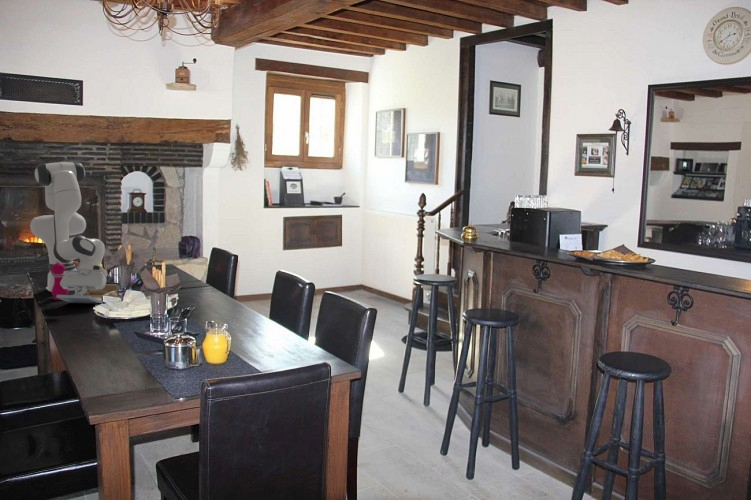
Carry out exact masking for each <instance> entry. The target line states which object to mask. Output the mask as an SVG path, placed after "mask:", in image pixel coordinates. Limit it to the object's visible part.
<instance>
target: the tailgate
mask: <svg viewBox="0 0 751 500" xmlns="http://www.w3.org/2000/svg"><path fill="white" fill-rule="evenodd" d="M56 297H57V298H59V299H62V301H65V302H67V303H69V304H95V305H96V303H102V304H104V303H103V301H100V300H98V299H96V298H94V297H91V296H84V295H74V294H67V295H57V296H56Z"/></svg>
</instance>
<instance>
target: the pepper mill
mask: <svg viewBox="0 0 751 500" xmlns="http://www.w3.org/2000/svg"><path fill="white" fill-rule="evenodd" d="M51 271H52V272H53V273H54V274H53V277H54V286H53V288H52V292H51V295H52V296H53V298H52V299H53V300H54V301H59V300H60V301H61V300H62V299H59V298H57V297H56V296H57V295H69V291H68V289H63V288H62V287H61V285H60V282H61V280H62V278H63V276H64V271H65V266H64V265H63V264H61V263H60V261H59V260H57V261H56V264H54V265H53V266H52V267H51ZM62 301H63V300H62Z"/></svg>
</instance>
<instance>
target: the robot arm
mask: <svg viewBox="0 0 751 500" xmlns="http://www.w3.org/2000/svg"><path fill="white" fill-rule="evenodd" d="M34 178H35V180H36V182H37V183H38V184H39V185H41V186H44V195H45V197H44V198H45V200H44V201H45V204H46V207H47V208H48V209H50V210H51V211H54V212H53V214H49V215H48V214H47V215H39V216H36V217H33V218H32V219H31V221H30V225H29V227H30V228H29V229H30V232H31V233H32V234H33V235H34V236H35V237H37V238H38V239H40V240H41V241H42V242H43V243H44V244H45V246H46V249H47V253H48V259H49V260H48V261H49V263H48V271H49V272H48V273H47V286H46V287H45V290H47V291H48V292H51V293H52V288H53V286H54V277H53V274H54V273H53V272H52V271H51V267H52V266H53V265H54V264H56V261H57V260H59V261H60V263H61V264H63V265H64V266H65V271H64V276H63V278H62V280H61V282H60V285H61V287H62V288H63V289H68V292H69V291H70V292H71V291H74V294H75V295H83V294H84V293H85V292H86V291H87V289H103V288H104V287H105V285H106V284H107V277H108V272H107V270H105V268H103V267H102V266H100V264H101V263H102V261H103V258H104V255H105V250H106V248H105V246H106V245H105V244H104V242H103V241H102V240H100V239H98V238H88V237H86V236H84V235H81V234H83V233H84V232H85V230H86V228H87V222H86V219H85V217H83V216H82V215H81V214H79V213H78V212H77V211H78V210H79V209H80V208H81V206H82V194H81V190H80V185H79V184H80V183H83V182H84V181H85V178H86V170H85V167H84V166H83V164H82V163H81V162H76V161H73V162H69V161H58V162H49V163H41V164H37V165H36V167H35V170H34ZM70 236H72V237H70ZM76 259H79V261H75V260H76ZM76 266H77V268H76Z"/></svg>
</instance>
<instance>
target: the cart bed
mask: <svg viewBox="0 0 751 500" xmlns="http://www.w3.org/2000/svg"><path fill="white" fill-rule="evenodd" d="M73 295H75V293H74V294H73ZM83 295H84V296H91V297H94V298H96V299H98V300H100V301H103V296H113V297H115V298H117V297H119V284H109V283H108V284H107V283H106V285H105V287H104V288H103V289H87V291H86V292H85V293H84V294H83Z"/></svg>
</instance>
